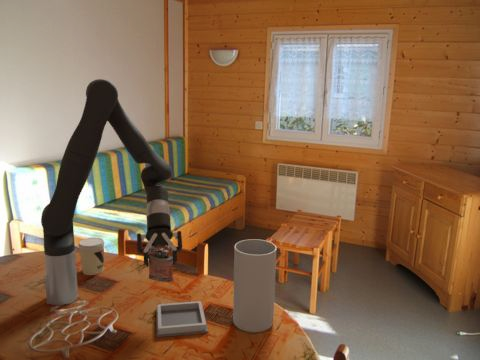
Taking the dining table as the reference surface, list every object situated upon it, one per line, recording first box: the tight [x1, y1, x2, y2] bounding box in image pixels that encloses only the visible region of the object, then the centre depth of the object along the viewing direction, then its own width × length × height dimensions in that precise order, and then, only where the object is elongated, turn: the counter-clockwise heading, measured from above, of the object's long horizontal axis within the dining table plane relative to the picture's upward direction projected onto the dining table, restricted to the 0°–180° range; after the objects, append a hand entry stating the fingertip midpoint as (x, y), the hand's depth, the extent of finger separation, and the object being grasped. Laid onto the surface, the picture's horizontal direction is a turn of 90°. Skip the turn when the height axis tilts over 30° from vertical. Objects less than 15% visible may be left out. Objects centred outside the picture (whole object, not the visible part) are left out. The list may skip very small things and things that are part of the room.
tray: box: [155, 300, 209, 338], centre depth 135 cm, size 15×15×2 cm
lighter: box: [148, 247, 174, 283], centre depth 134 cm, size 8×3×10 cm, turn 72°
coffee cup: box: [78, 237, 105, 276], centre depth 167 cm, size 9×9×12 cm
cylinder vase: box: [232, 238, 277, 333], centre depth 133 cm, size 12×12×25 cm
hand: (160, 264), depth 134 cm, fingers closed on lighter, 7 cm apart
